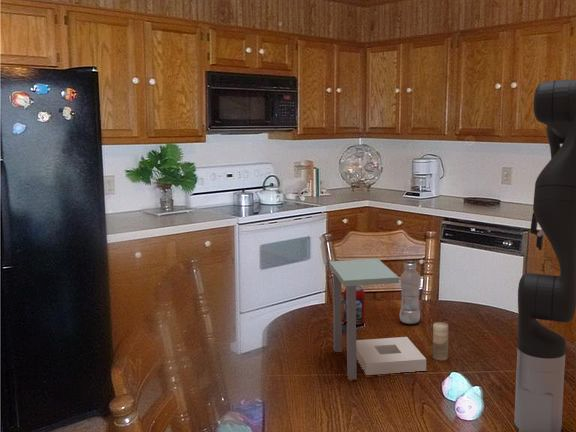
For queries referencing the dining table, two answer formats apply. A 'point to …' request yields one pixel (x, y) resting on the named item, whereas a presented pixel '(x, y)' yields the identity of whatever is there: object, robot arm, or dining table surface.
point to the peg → (440, 341)
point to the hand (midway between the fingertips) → (557, 251)
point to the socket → (389, 356)
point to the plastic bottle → (410, 294)
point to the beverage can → (357, 304)
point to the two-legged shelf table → (354, 299)
